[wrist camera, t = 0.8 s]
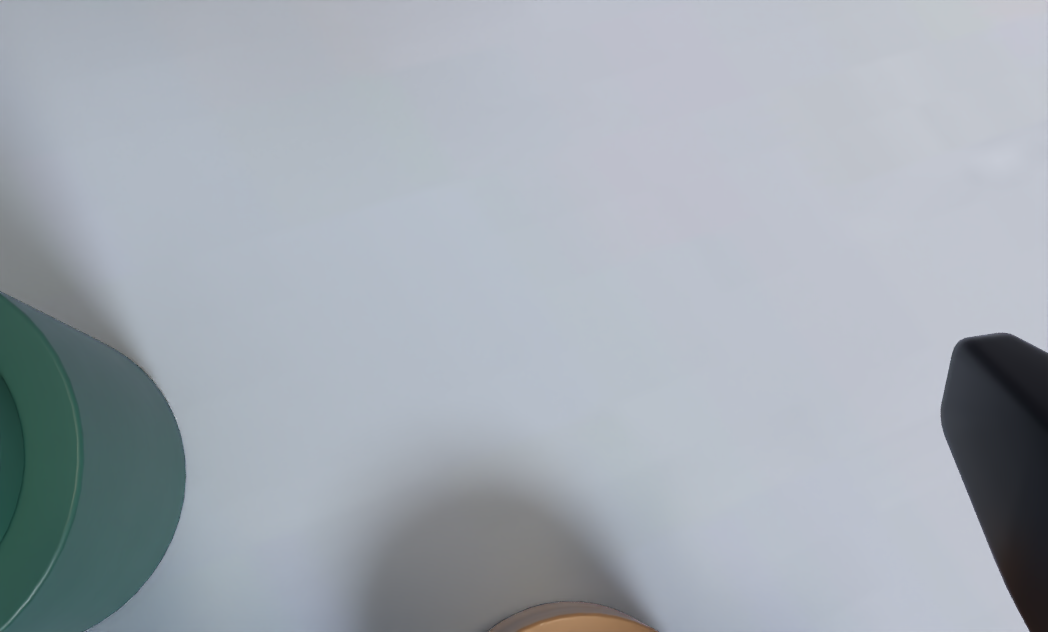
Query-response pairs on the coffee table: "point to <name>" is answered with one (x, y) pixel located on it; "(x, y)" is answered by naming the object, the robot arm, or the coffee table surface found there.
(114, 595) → the bottle
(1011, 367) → the robot arm
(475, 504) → the coffee table surface
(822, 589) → the coffee table surface
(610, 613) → the cylinder
